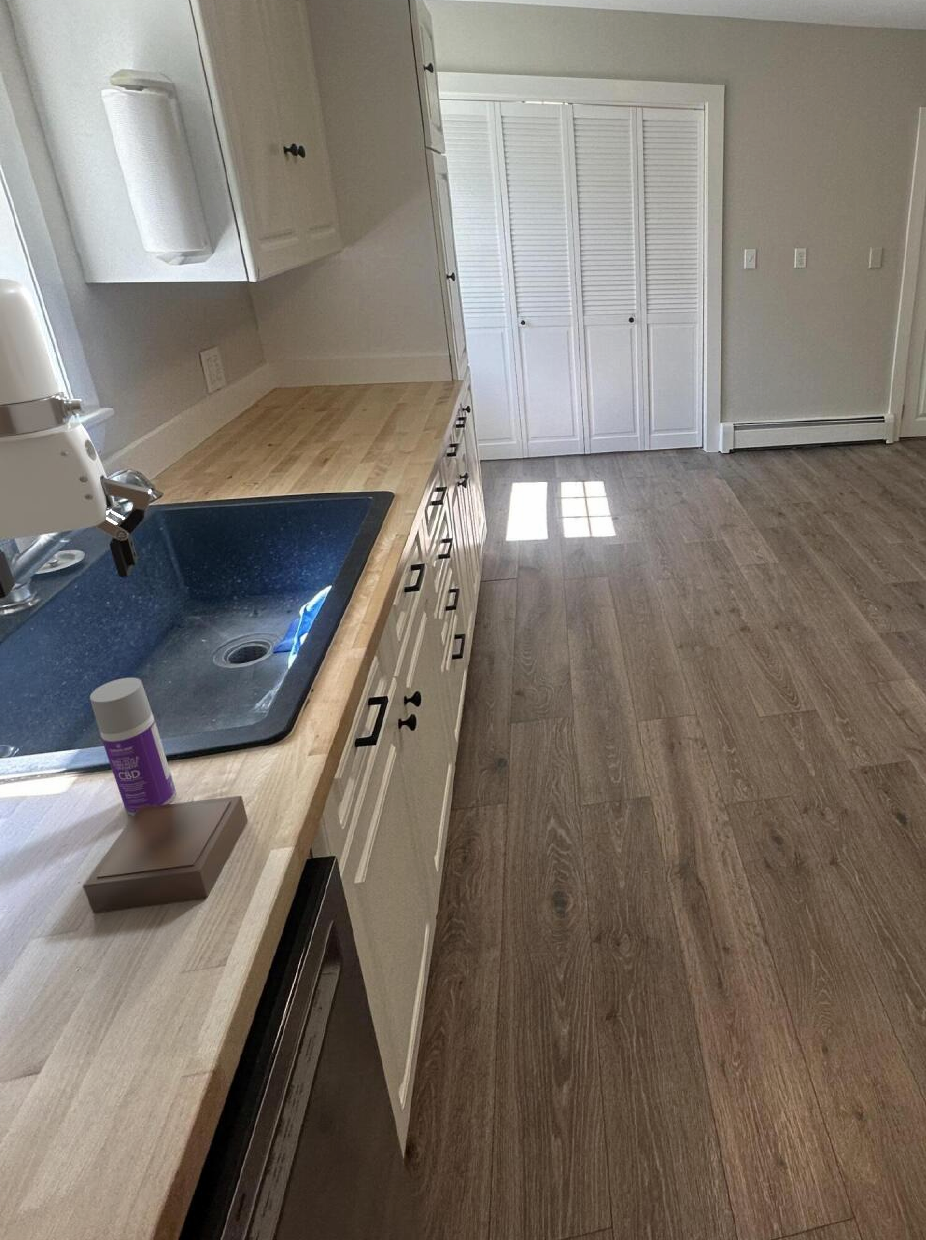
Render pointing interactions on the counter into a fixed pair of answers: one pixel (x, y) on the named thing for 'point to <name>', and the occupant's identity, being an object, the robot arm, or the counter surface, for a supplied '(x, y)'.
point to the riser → (167, 854)
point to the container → (132, 744)
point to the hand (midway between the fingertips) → (68, 582)
